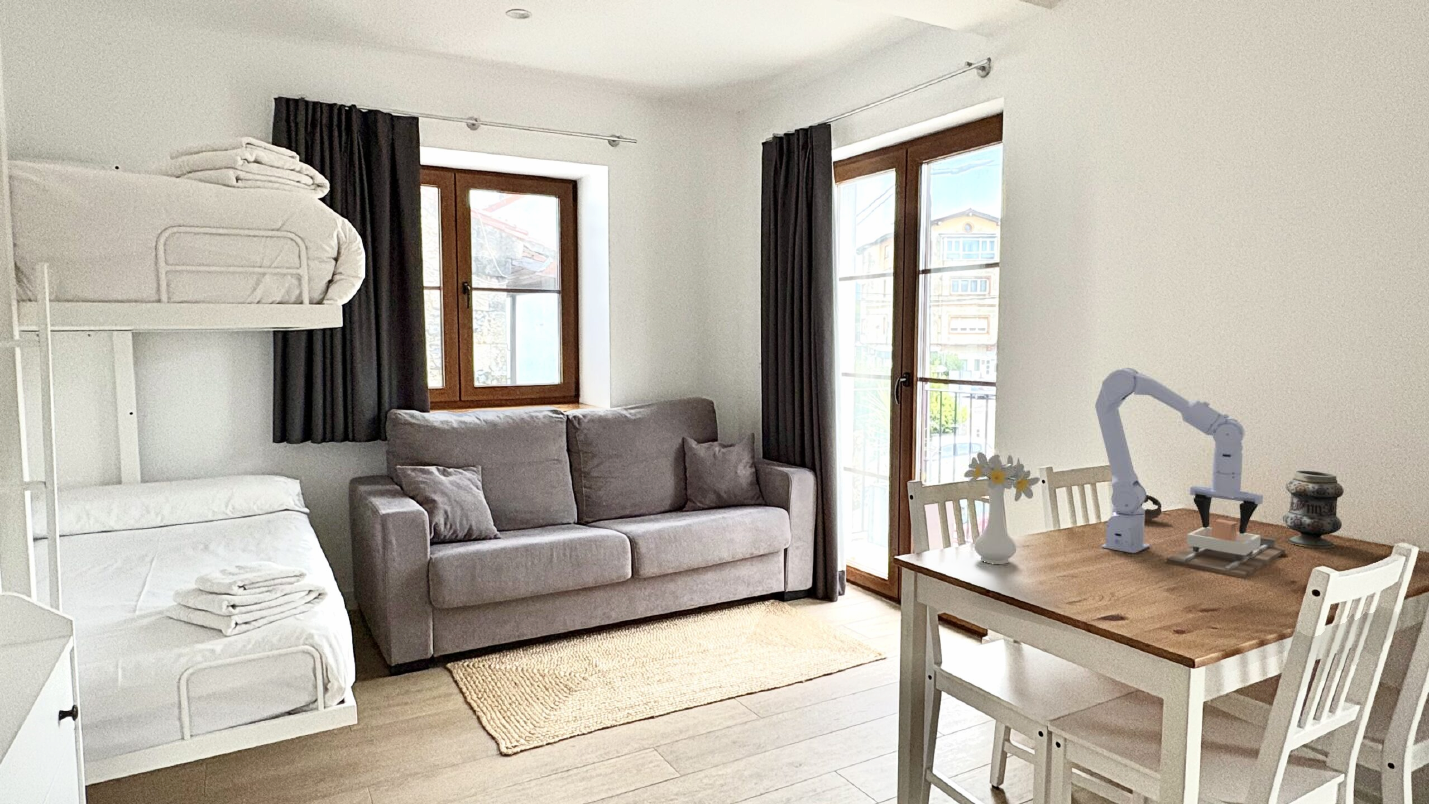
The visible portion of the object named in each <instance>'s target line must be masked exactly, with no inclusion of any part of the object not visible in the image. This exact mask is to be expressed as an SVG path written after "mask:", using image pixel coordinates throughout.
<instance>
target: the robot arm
mask: <svg viewBox="0 0 1429 804" xmlns="http://www.w3.org/2000/svg"><path fill="white" fill-rule="evenodd" d="M1101 382H1102V383H1101V387H1100V390H1099V393H1098V396H1097V398H1096V400H1095V403H1094V404H1095V405H1094V406H1095V407H1094V408H1095V410H1096V415H1097V419H1098V422H1099V423H1098V424H1099V426H1100V431H1101V435H1102V436H1101V437H1102V438H1103V439H1102V440H1103V444H1104V448H1105V451H1106V452H1105V453H1106V455H1107V459H1108V463H1109V467H1110V471H1111V474H1112V475H1111V476H1112V477H1111V487H1112V495H1111V498H1110V499H1111V504H1112V505H1113V507H1111V516H1110V517H1109V518H1108V519H1107V522H1106V528H1105V543H1104V544H1101V548H1105V549H1110V550H1115V551H1121V552H1125V553H1130V554H1131V553H1132V554H1136V553H1139V552H1140V551H1142V550H1145V549H1147V548H1149V547H1150V544H1148V543H1144V539H1145V538H1144V537H1145V535H1144V534H1145V521H1144V518H1145V510H1146V509H1144V508H1143V505H1144V504H1145V503H1144V501H1145V500H1146V495H1147V492H1146V489H1145V487H1144V486H1143V485H1142V484H1141V482H1140V480H1139V477H1138V475H1137V473H1136V471H1135V470H1134V465H1133V462H1132V458H1131V453H1130V450H1129V446H1128V443H1127V438H1126V434H1125V430H1124V426H1123V422H1122V417H1121V415H1120V410H1119V408H1120V407H1121V405H1123V403H1124V402H1125V400H1126V399H1127V397H1129V396H1131V395H1132V394H1134V395H1135V396H1137V395H1139V396H1149V397H1152V398H1153V399H1155V400H1157V401H1159V402H1161V403H1163V404H1165V405H1166V406H1168V407H1170V408H1172V409H1173V410H1176V411H1177V412H1178V413H1180V414H1181V418H1182V421H1184V422H1185V423H1187V424H1188V425H1190V426H1191V427H1193V428H1194V429H1197V430H1198V431H1200V432H1201V433H1203V434H1205V435H1206V436H1211V437H1212V438H1213V441H1214V442H1215V443H1214V451H1213V458H1212V459H1213V461H1212V476H1211V477H1212V479H1211V487H1206V486H1197V485H1196V486H1195V485H1192V486H1190V487H1189V488H1190V489H1189V492H1190V493H1189V495H1190V496H1194V497H1193V498H1192V499H1193V503H1194V504H1195V506H1196V508H1197V510H1198V513H1199V516H1200V520H1201V524H1202V527H1203V528H1207V527H1210V511H1211V510H1210V509H1211V505H1212V499H1220V500H1221V499H1222V500H1227V501H1228V500H1229V501H1237V502H1241V503H1239V515H1240V516H1239V518H1240V519H1239V527H1238V529H1239V530H1238V532H1239V533H1240V534H1244V533H1246V532H1247V528H1248V524H1249V521H1250V520H1251V518H1252V516H1253V515H1254V513H1255V511H1256V509H1257V507H1259V505H1262V504H1263V502H1264V501H1263V500H1264V495H1263V494H1257V493H1253V492H1247V491H1243V490H1242V489H1241V487H1242V486H1241V485H1242V469H1243V442H1242V441H1243V439H1244V437H1245V432H1246V431H1245V429H1244V428H1245V427H1244V426H1243V425H1242V423H1241V422H1239V421H1238V420H1237V419H1234V418H1230V415H1229V414H1227V413H1225V414H1222V413H1221V412H1219V411H1218V410H1216V409H1214V408H1213V407H1210V403H1209V402H1207V401H1205V400H1204V401H1203V402H1202V401H1200V400H1193V401H1189V400H1187V398H1185V397H1183V396H1181V394H1178V393H1176V392H1175V391H1173V390H1172V389H1171V388H1169V387H1167V386H1166V385H1164V384H1162V383H1161V382H1159V381H1157V380H1156V379H1154V378H1152V377H1151V376H1149V375H1147V374H1145V373H1142V372H1138V370H1136V369H1134V368H1131V367H1124V368H1121V369H1115V370H1113V371H1112V372H1110V373H1109V374H1108V375H1107V376H1106V377H1105V379H1104V380H1103V381H1101ZM1141 504H1142V506H1141Z"/></svg>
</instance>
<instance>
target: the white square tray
mask: <svg viewBox="0 0 1429 804" xmlns="http://www.w3.org/2000/svg"><path fill="white" fill-rule="evenodd" d="M1211 534H1212V527H1210V526H1209V527H1207V528H1203V526H1202V527H1199V528H1198V529H1196V530H1193V531H1192V532H1189V533H1187V534H1186V546H1190V547H1191V546H1193V551H1194V552H1198V551H1199V547H1200V548H1205V549H1211V550H1217V551H1223V552H1228V553H1234V554H1237V555H1236V558H1237V559H1238V560H1242V557H1243V555H1246V554H1248V553H1250V554H1252V553H1253V550H1255V549H1257V548H1258V547H1260V539H1261V537H1262V536H1261V535H1260V534H1254V533H1244V534H1240V533H1239V531H1237V538H1236V542H1235V541H1229V540H1223V539H1217V538H1211Z"/></svg>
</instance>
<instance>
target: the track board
mask: <svg viewBox="0 0 1429 804" xmlns="http://www.w3.org/2000/svg"><path fill="white" fill-rule="evenodd" d="M1285 552H1286V548H1284V547H1278V546H1276V539H1275V538H1270V537H1263V536H1261V539H1260V547H1258V548H1257V549H1255V550H1253V553H1252V554H1250V553H1248V554H1246V555H1243V557H1242V560H1238V559H1237V558H1236V555H1237V554H1234V553H1228V552H1223V551H1217V550H1211V549H1205V548H1200V547H1199V551H1198V552H1194V551H1193V546H1190V547H1188V548H1185V549H1184V550H1181V551H1179V552H1177V553H1175V554H1173V555H1172V556H1169V557H1167V558H1166V560H1165V563H1166V564H1169V565H1174V566H1179V567H1185V568H1189V569H1194V570H1201V571H1205V572H1211V573H1216V574H1221V575H1226V576H1231V577H1237V578H1240V579H1241V578H1242V579H1246V578H1248V577H1249V576H1250V575H1253V573H1255V572H1257V571H1258V570H1261V568H1263V567H1264V566H1266V565H1268V564H1269V563H1271V562H1272V561H1275V560H1276V559H1277V558H1279V557H1280V556H1282V555H1283V554H1285ZM1281 554H1282V555H1281ZM1278 556H1279V557H1278Z"/></svg>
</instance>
